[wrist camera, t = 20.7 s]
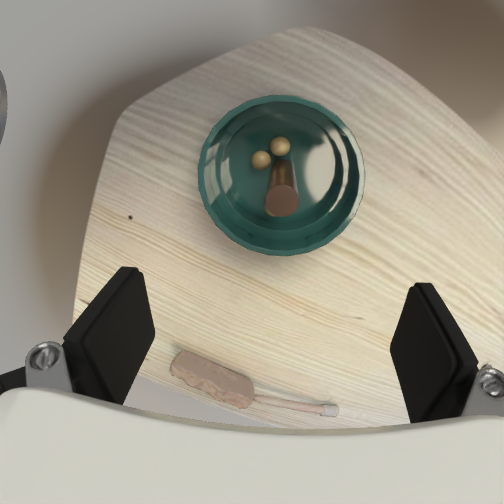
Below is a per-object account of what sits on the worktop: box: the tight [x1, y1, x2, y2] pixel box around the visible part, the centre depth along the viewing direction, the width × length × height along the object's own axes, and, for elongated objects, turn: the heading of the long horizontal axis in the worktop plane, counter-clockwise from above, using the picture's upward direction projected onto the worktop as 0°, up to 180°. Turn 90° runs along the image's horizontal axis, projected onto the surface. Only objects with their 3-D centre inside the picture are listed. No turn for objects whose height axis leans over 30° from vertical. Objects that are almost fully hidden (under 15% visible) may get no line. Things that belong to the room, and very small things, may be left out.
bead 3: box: [270, 136, 290, 156], centre depth 29 cm, size 2×2×2 cm
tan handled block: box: [170, 351, 339, 417], centre depth 46 cm, size 8×4×30 cm
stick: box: [265, 159, 299, 217], centre depth 26 cm, size 2×2×11 cm
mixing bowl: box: [198, 95, 365, 256], centre depth 29 cm, size 15×15×6 cm
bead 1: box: [251, 150, 271, 170], centre depth 30 cm, size 2×2×2 cm
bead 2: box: [265, 204, 276, 216], centre depth 32 cm, size 2×2×2 cm
